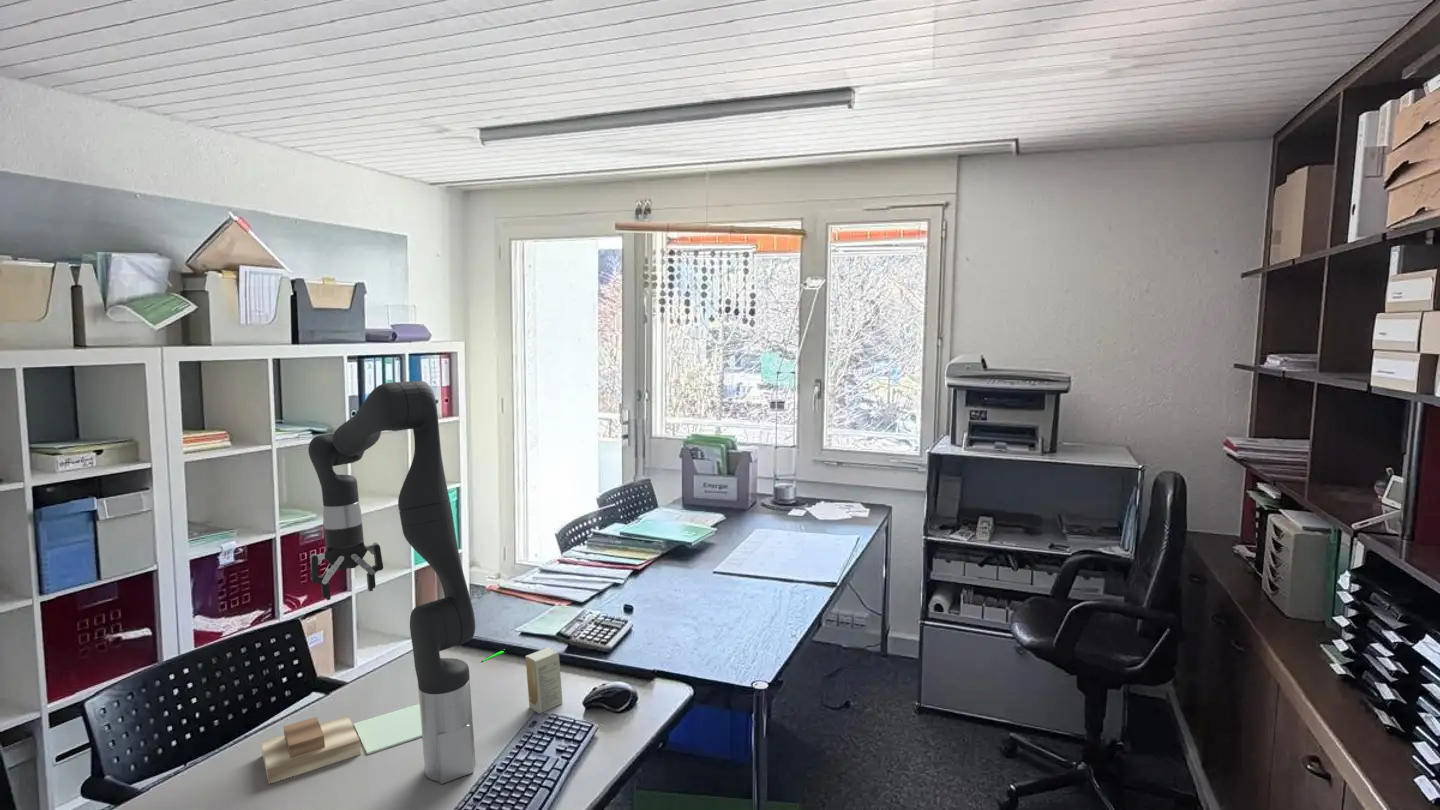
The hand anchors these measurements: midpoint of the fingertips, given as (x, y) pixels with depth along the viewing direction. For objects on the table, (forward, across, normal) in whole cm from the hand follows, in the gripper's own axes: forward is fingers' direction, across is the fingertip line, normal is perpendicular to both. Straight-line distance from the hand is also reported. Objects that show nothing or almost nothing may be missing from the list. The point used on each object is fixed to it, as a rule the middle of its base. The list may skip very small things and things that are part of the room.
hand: (349, 594), depth 170 cm
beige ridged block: (+26, -12, -16) cm, 32 cm away
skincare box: (+26, +34, -26) cm, 50 cm away
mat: (+26, +8, -15) cm, 31 cm away
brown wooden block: (+22, -12, -16) cm, 30 cm away
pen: (+26, +35, +8) cm, 44 cm away
